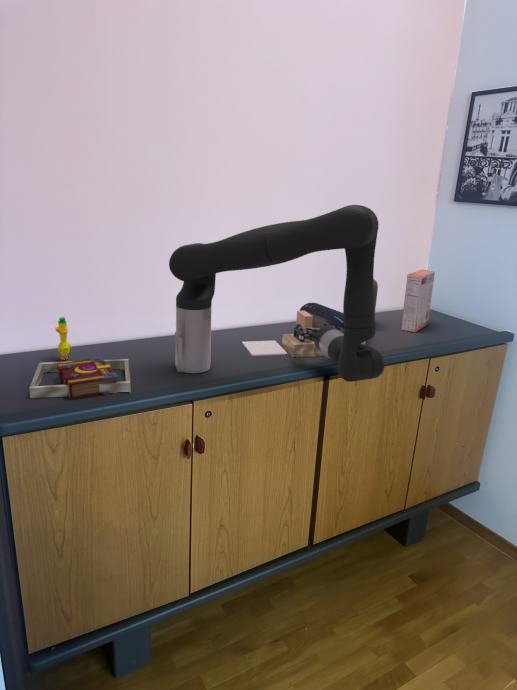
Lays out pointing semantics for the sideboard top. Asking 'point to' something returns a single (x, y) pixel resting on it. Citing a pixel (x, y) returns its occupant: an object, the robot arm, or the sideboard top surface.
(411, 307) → the cracker box
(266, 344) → the mat
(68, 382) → the decorative book
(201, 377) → the sideboard top surface
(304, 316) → the cover plate
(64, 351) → the toy figure
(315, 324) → the portable speaker
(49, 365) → the display tray
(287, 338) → the plate holder
